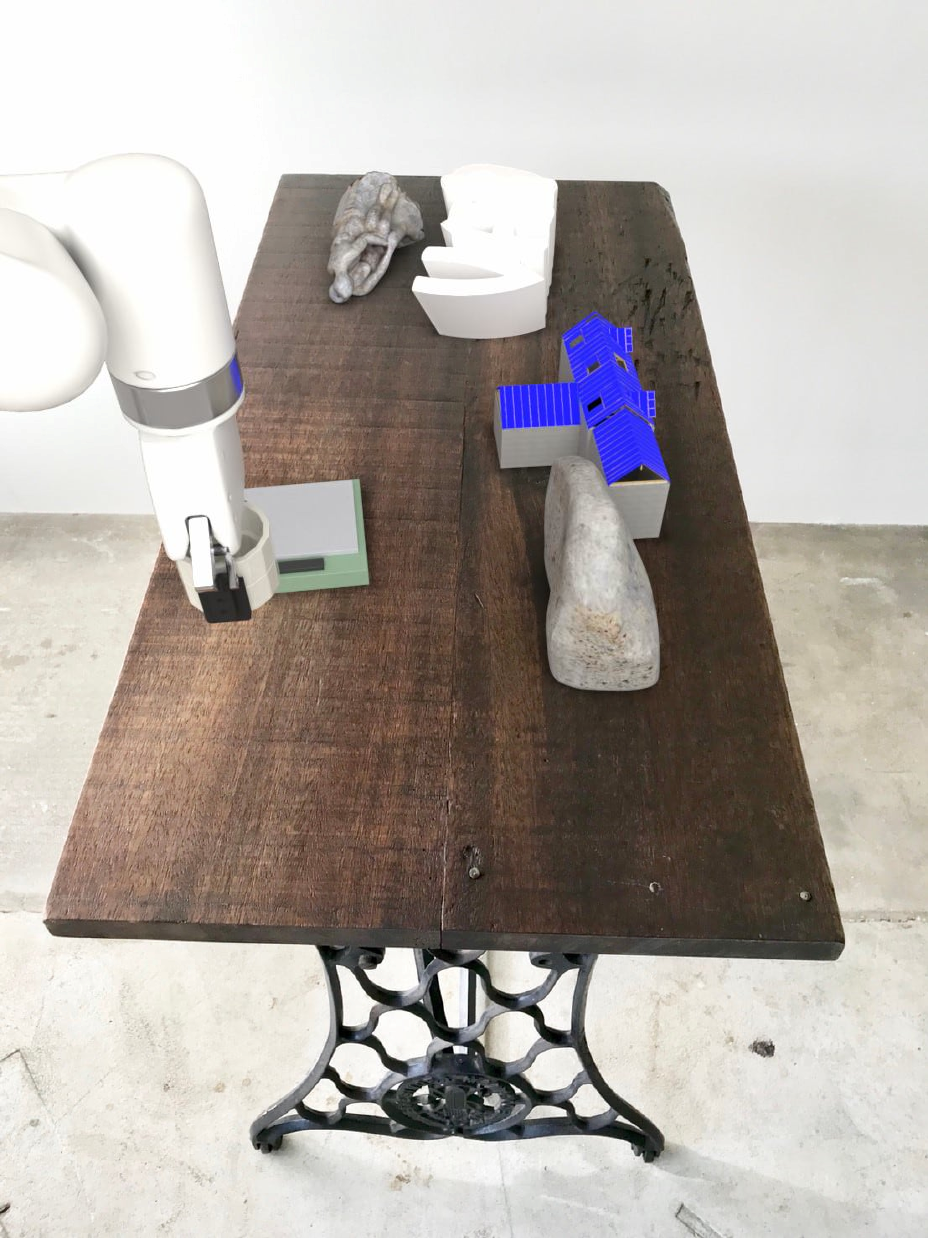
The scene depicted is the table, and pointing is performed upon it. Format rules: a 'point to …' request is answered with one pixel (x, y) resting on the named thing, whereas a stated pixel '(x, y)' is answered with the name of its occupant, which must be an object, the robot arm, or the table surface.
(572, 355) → the house model
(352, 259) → the sculpture
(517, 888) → the table surface
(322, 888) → the table surface
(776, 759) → the table surface
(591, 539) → the decorative stone
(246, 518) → the white cup
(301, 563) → the scale
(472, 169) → the wavy white extrusion
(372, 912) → the table surface
